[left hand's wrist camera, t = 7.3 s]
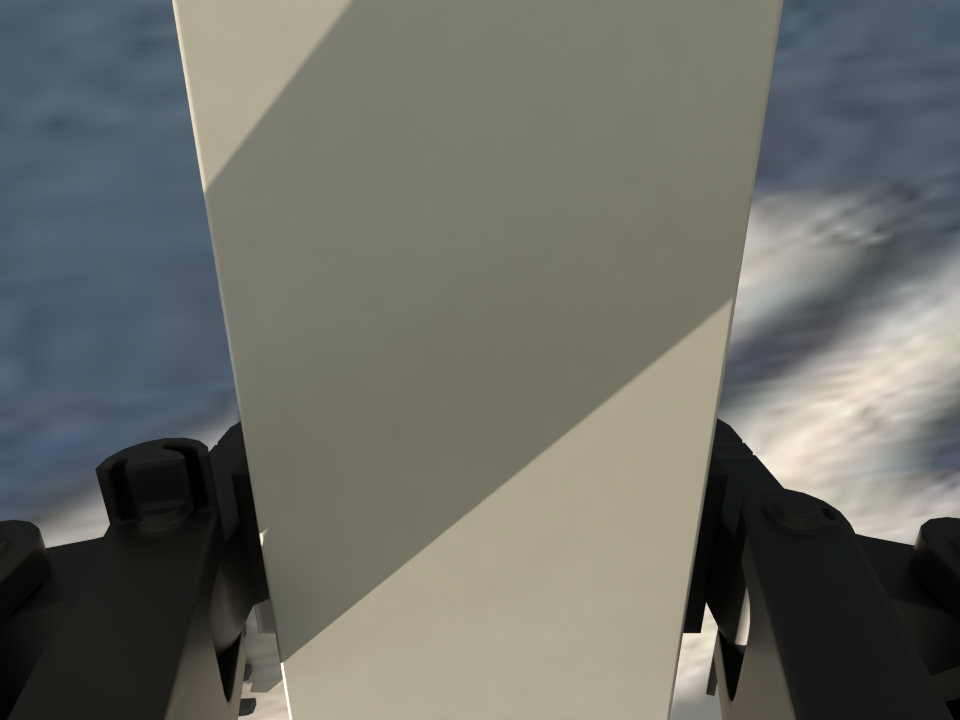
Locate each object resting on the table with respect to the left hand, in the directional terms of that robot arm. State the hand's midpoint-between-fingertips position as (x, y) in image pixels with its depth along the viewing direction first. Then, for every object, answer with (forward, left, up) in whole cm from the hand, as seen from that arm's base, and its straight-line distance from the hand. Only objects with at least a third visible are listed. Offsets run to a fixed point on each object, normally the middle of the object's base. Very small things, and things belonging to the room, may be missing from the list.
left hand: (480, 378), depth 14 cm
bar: (+3, +26, -1) cm, 26 cm away
